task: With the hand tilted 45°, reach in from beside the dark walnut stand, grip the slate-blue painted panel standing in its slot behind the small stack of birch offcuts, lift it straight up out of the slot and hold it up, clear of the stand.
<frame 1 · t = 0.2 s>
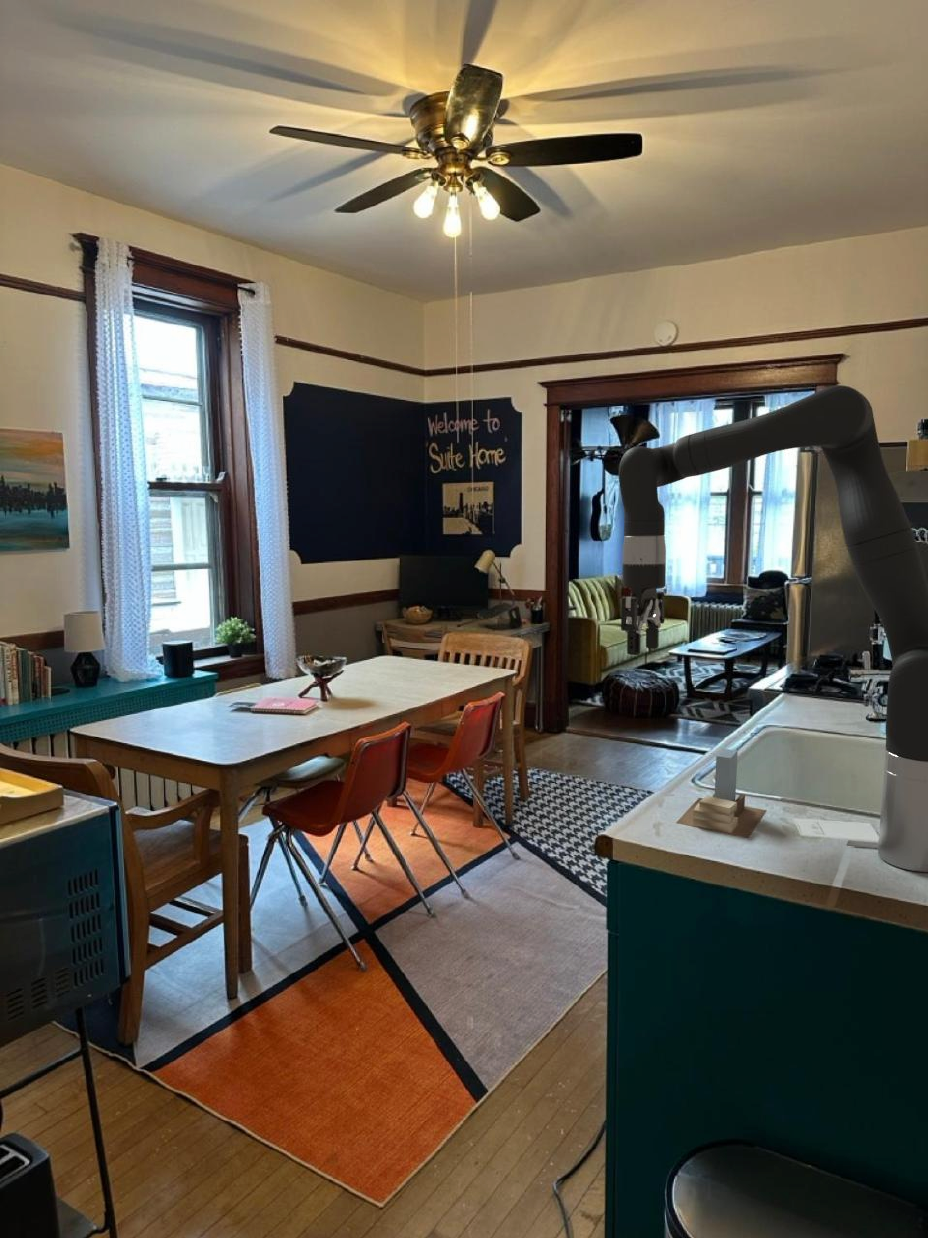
hand: (643, 651, 145), 29 cm above the countertop, tool pointing down, fingers open, 8 cm apart
external hard drive: (835, 839, 135), on the countertop
slate-blue panel: (724, 813, 142), point 1 cm above the countertop, touching walnut stand
walnut stand: (721, 822, 141), on the countertop
birch offcut stack: (715, 825, 137), point 1 cm above the countertop, touching walnut stand
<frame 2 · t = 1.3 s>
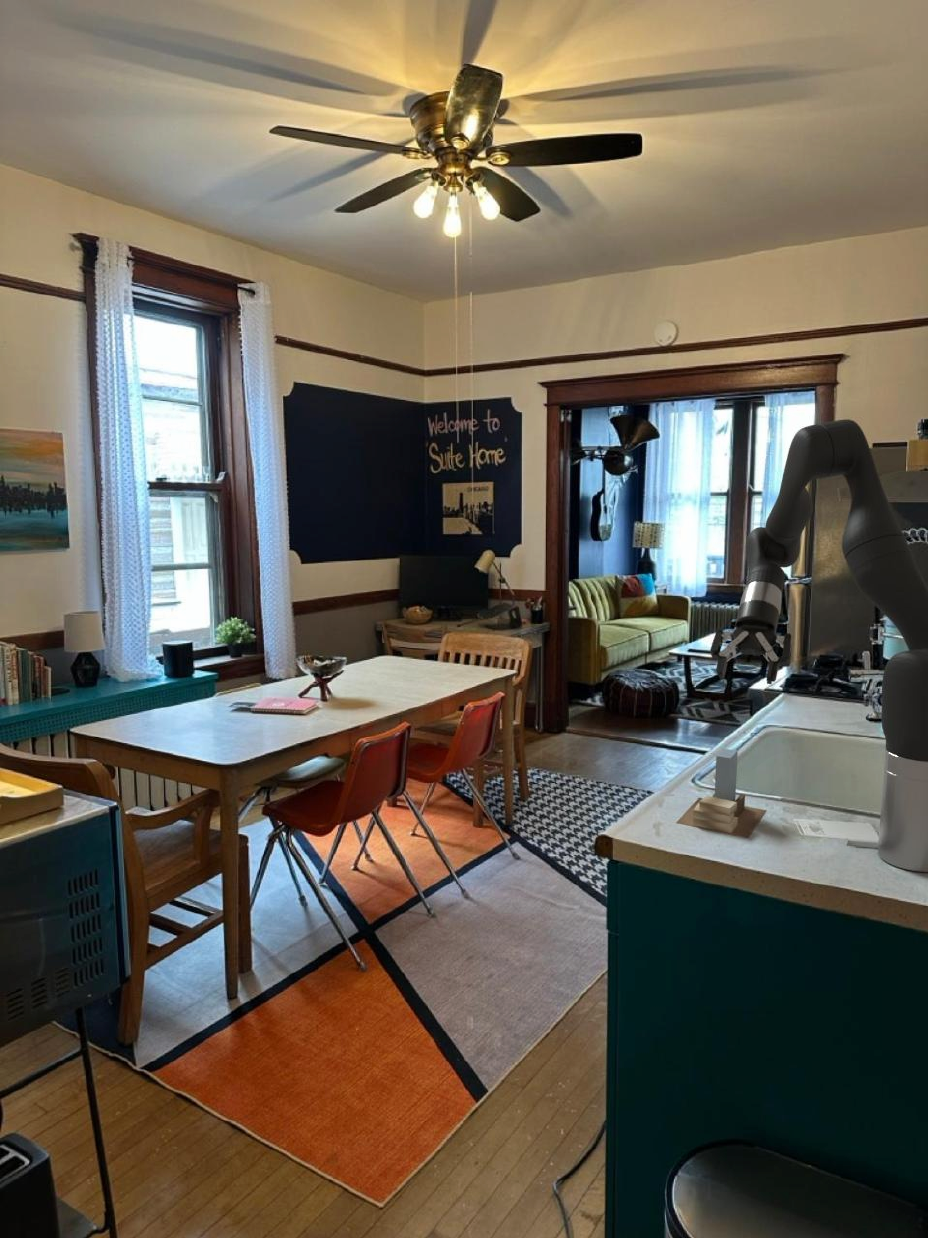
hand: (744, 679, 149), 23 cm above the countertop, tool tilted 45°, fingers open, 8 cm apart
nothing on the countertop moved.
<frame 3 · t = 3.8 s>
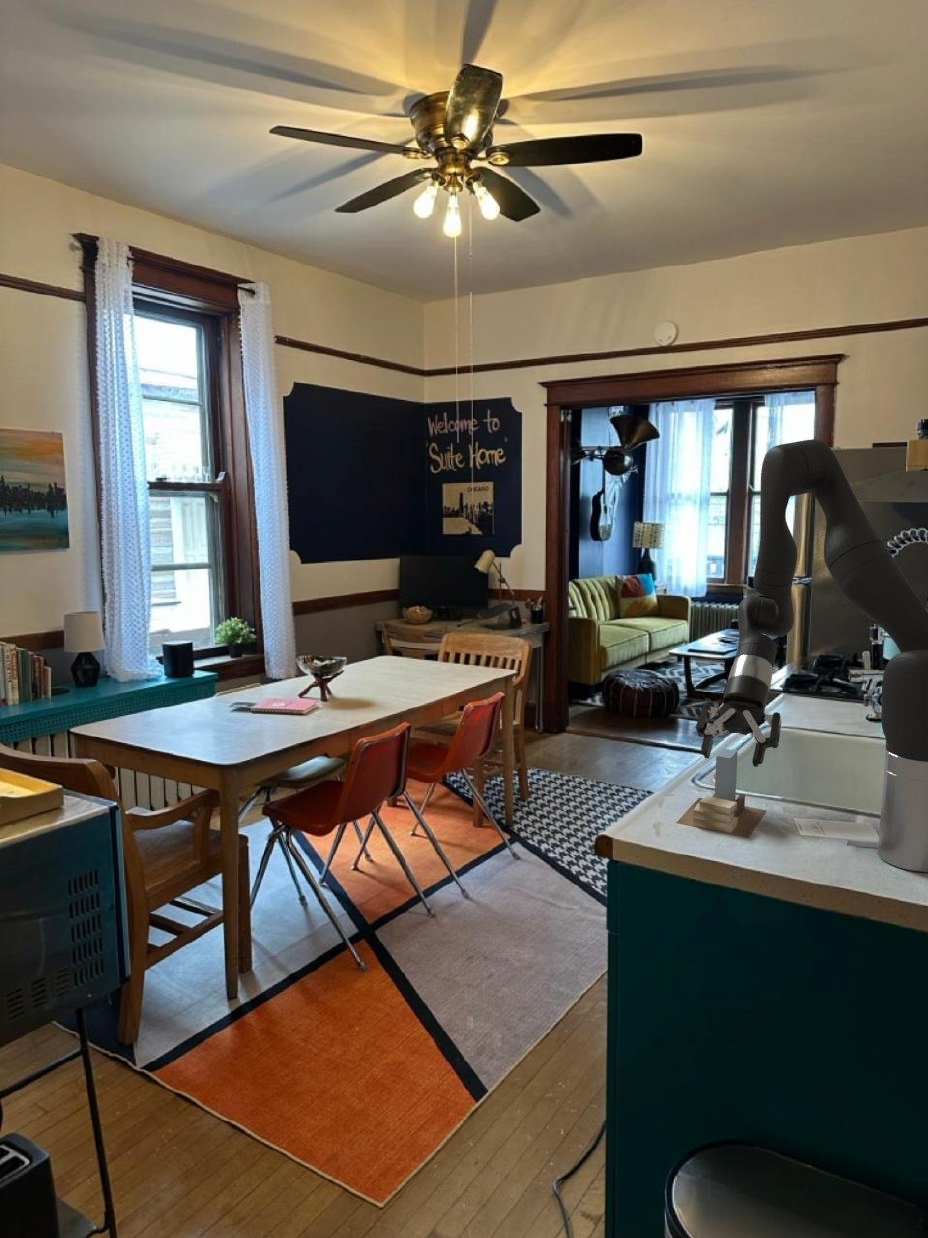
hand: (730, 760, 143), 10 cm above the countertop, tool tilted 45°, fingers open, 8 cm apart
nothing on the countertop moved.
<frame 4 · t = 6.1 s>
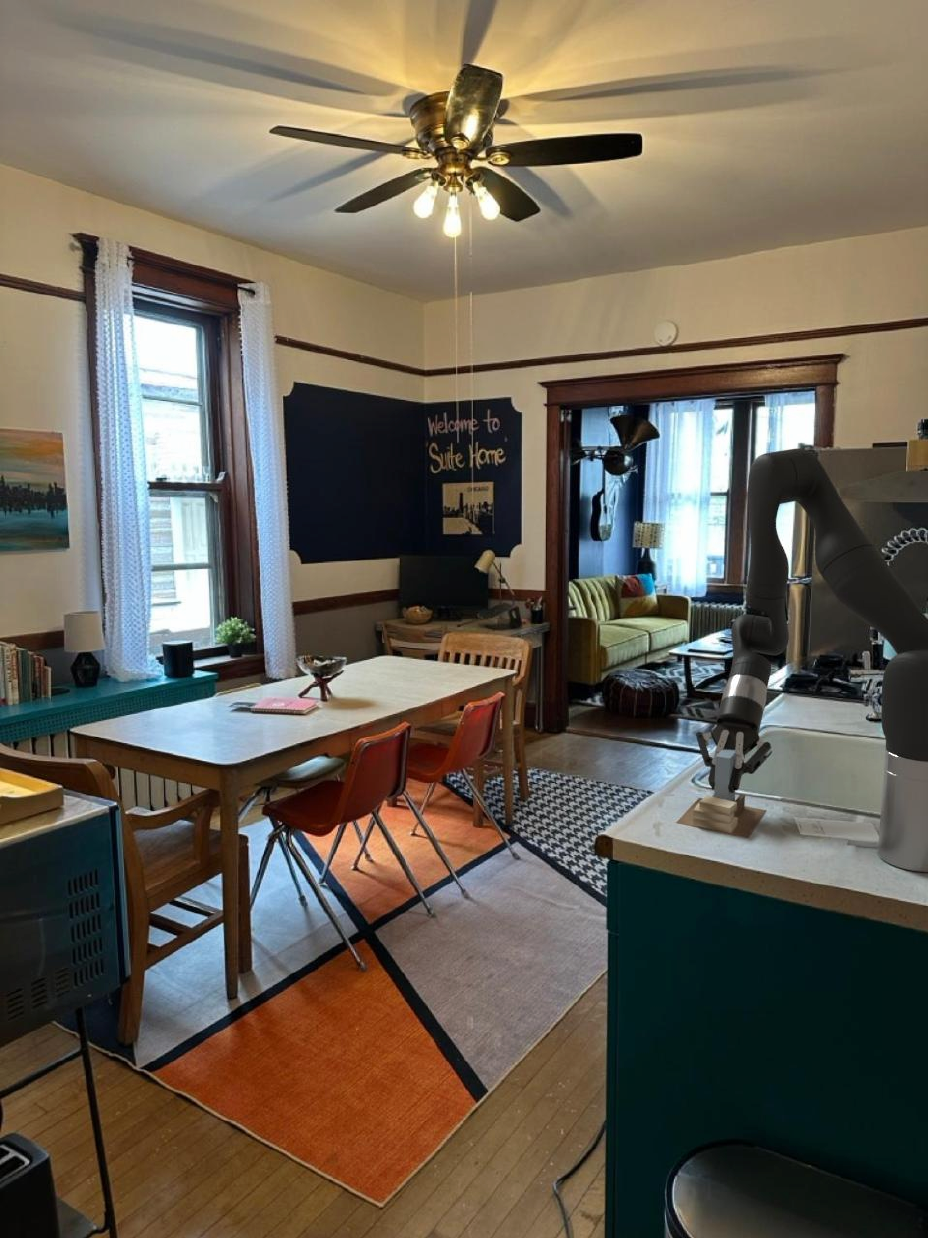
hand: (722, 788, 139), 6 cm above the countertop, tool tilted 45°, fingers closed on slate-blue panel, 2 cm apart
slate-blue panel: (723, 813, 142), point 1 cm above the countertop, touching gripper, walnut stand
everything else where it was.
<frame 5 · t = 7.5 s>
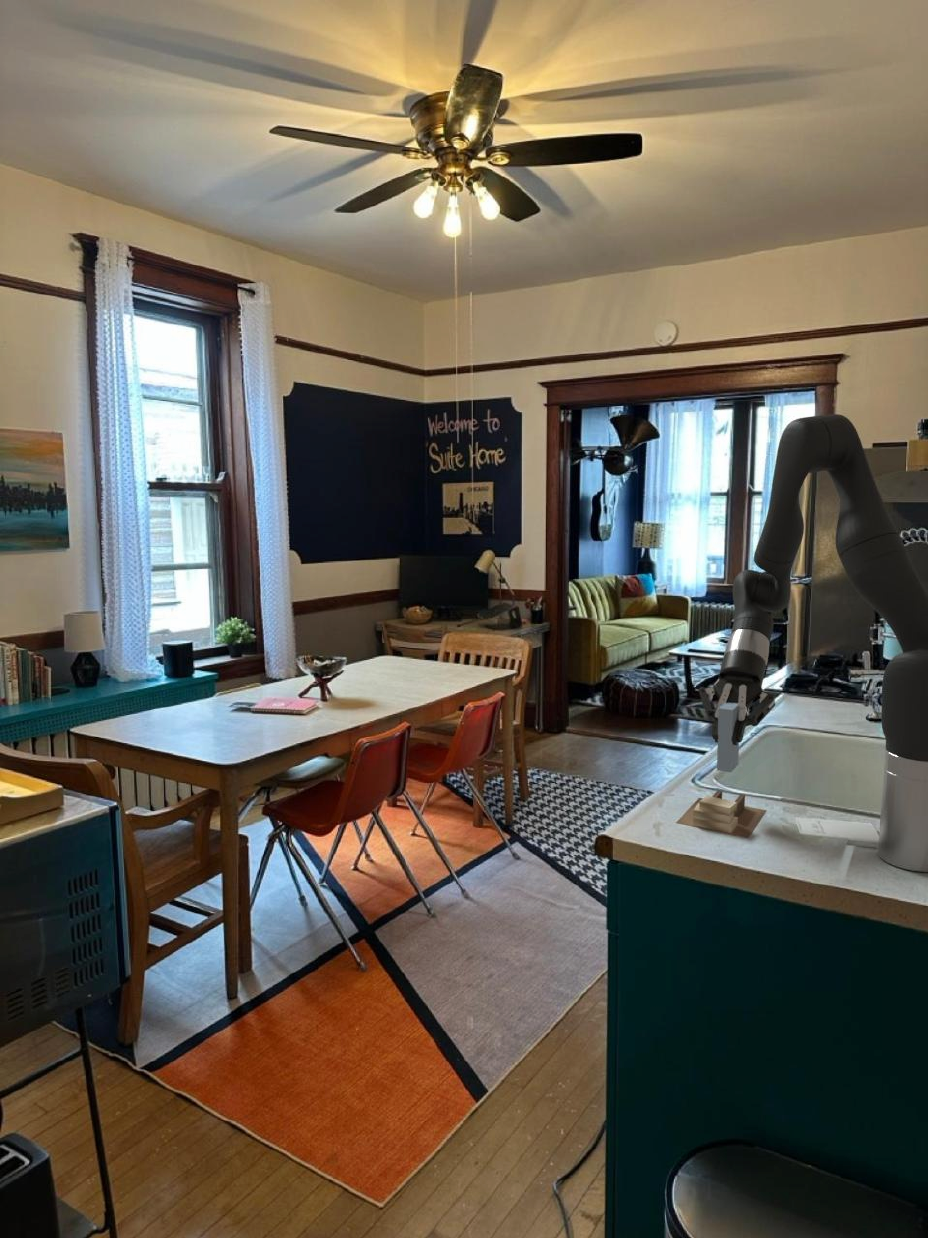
hand: (725, 741, 138), 15 cm above the countertop, tool tilted 45°, fingers closed on slate-blue panel, 2 cm apart
slate-blue panel: (727, 767, 141), point 10 cm above the countertop, touching gripper
everything else where it was.
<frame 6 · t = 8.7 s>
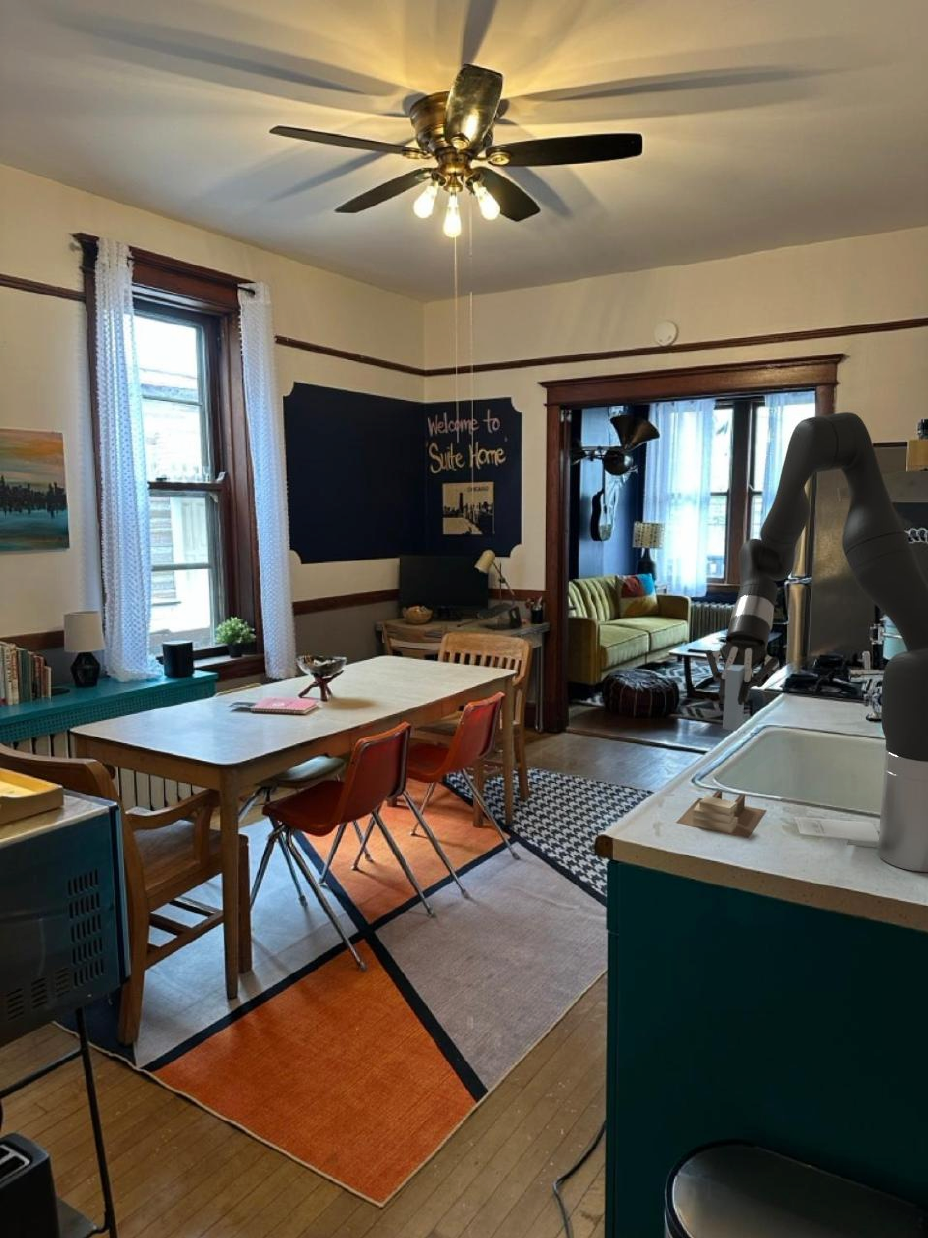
hand: (731, 701, 145), 20 cm above the countertop, tool tilted 45°, fingers closed on slate-blue panel, 2 cm apart
slate-blue panel: (732, 726, 147), point 15 cm above the countertop, touching gripper
everything else where it was.
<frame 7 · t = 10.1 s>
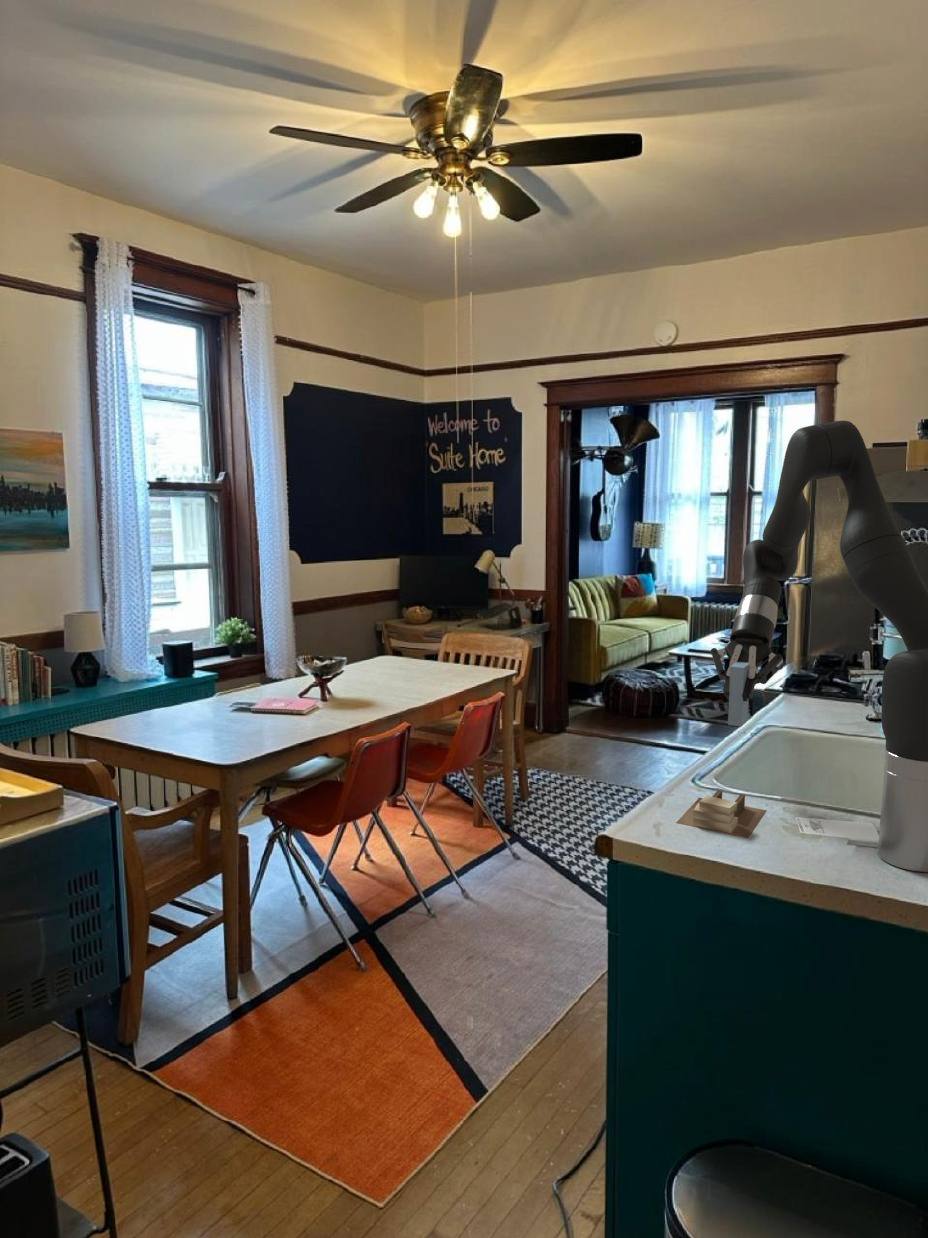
hand: (736, 697, 148), 20 cm above the countertop, tool tilted 45°, fingers closed on slate-blue panel, 2 cm apart
slate-blue panel: (737, 722, 150), point 15 cm above the countertop, touching gripper
everything else where it was.
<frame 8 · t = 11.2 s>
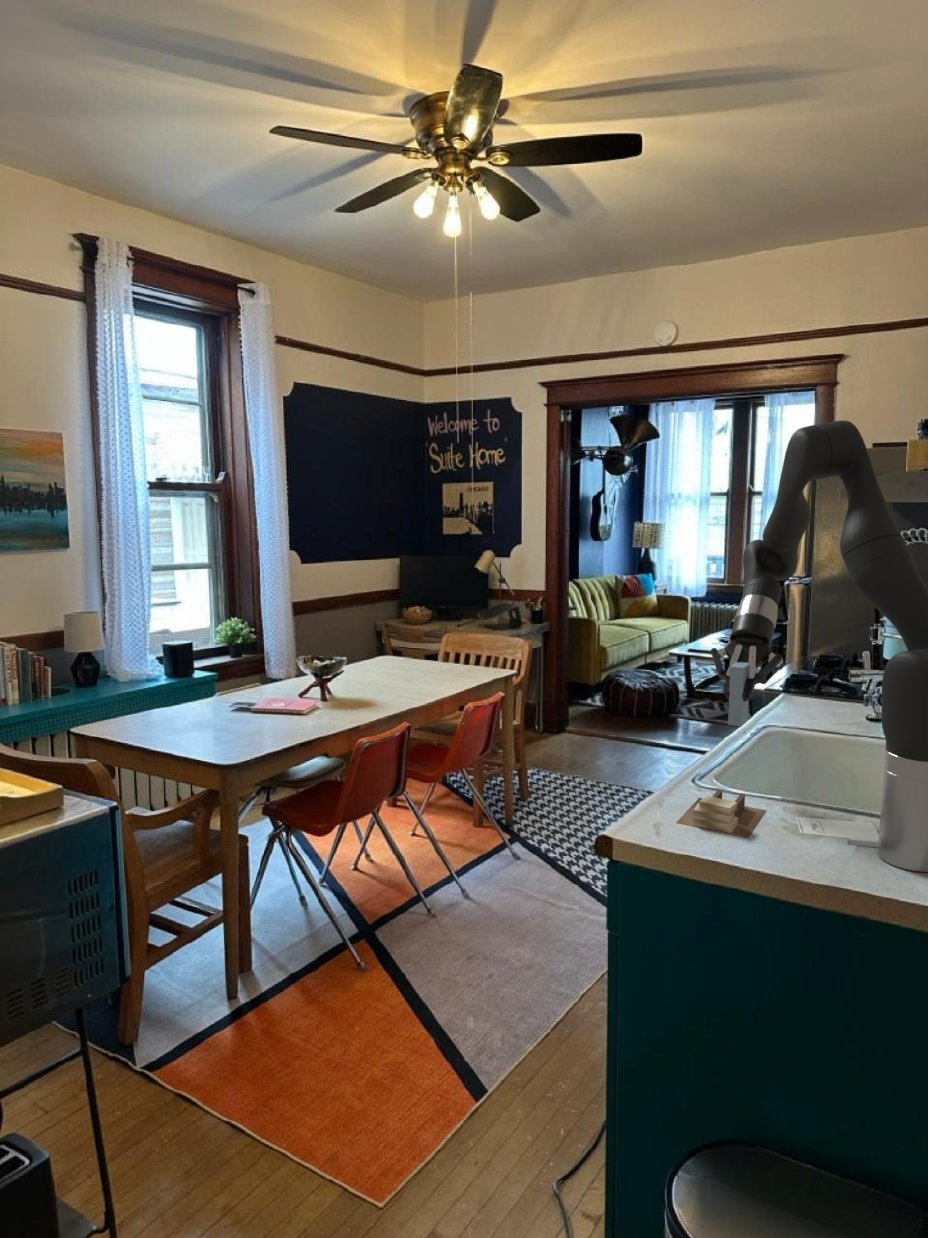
hand: (736, 697, 148), 20 cm above the countertop, tool tilted 45°, fingers closed on slate-blue panel, 2 cm apart
slate-blue panel: (737, 722, 150), point 15 cm above the countertop, touching gripper
everything else where it was.
at the end: the gripper is holding slate-blue panel; slate-blue panel inside the target area (0.4 cm from its centre), point 14.7 cm above the countertop; birch offcut stack moved 0.0 cm from its start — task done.
